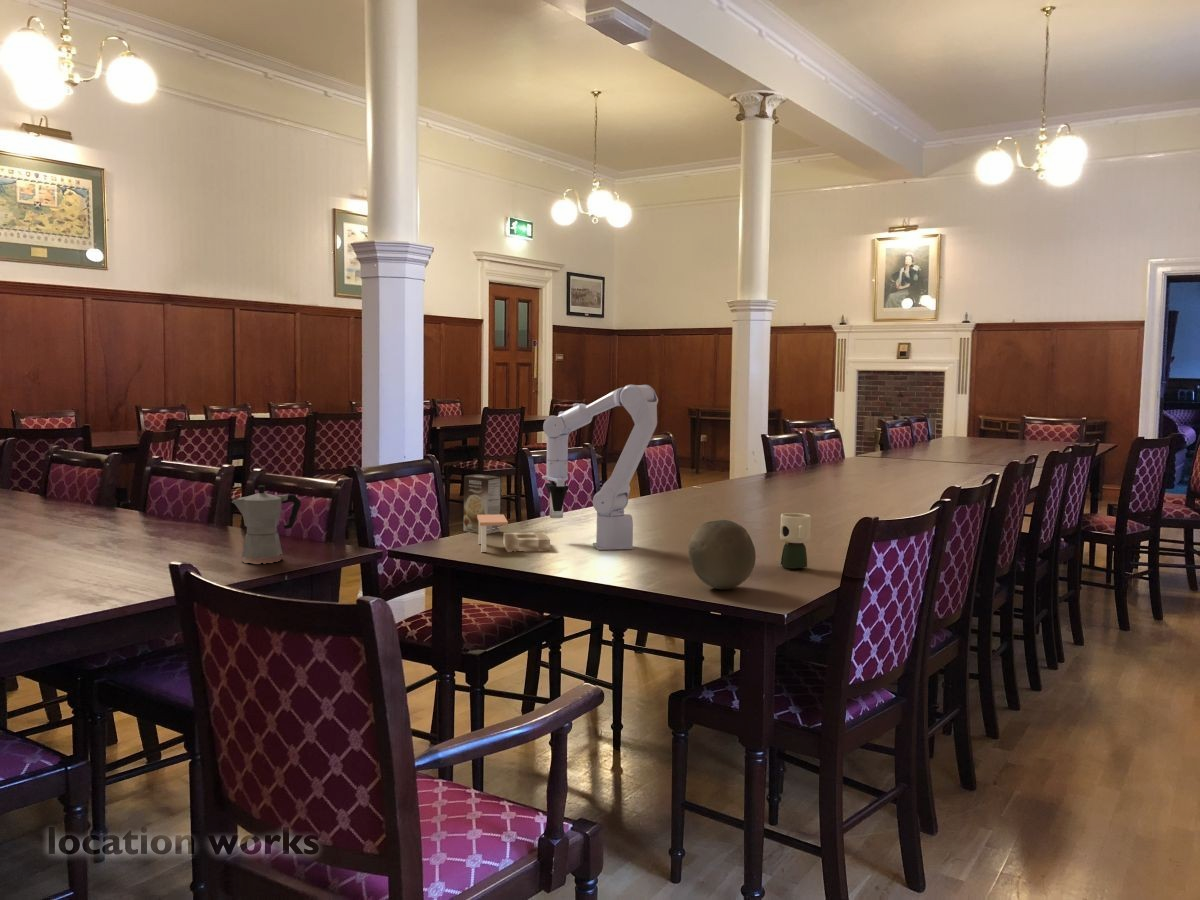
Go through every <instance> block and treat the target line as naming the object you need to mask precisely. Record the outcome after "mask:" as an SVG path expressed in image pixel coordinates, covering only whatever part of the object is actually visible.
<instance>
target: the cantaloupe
mask: <svg viewBox="0 0 1200 900" xmlns="http://www.w3.org/2000/svg"><path fill="white" fill-rule="evenodd" d="M688 557H689V562H690V565H691V568H692V570H693V572H694V573H695V574H696V576H697V577H698V579H700V581H701V582H702V583H703V584H705V585H707V586H709V587H711V588H712V589H715V590H729V589H733V588H737V587H738V586H739V585H741V584H742V583H744V582H745V581H746V580H747V579H748V578H749V577H750V575H751V574H752V572H753V570H754V567H755V565H756V558H757V556H756V547H755V545H754V542H753V540H752V538H751V535H750V534H749V533H748V531H747V529H746V528H744V527H743V525H740V524H738V523H737V522H734V521H731V520H727V519H721V520H714V521H713V520H712V521H708V522H704V523H703V524H701V525H699V526H698V527H697V528H696V530H695V531H694V533H693V534H692V535H691V537H690V539H689V542H688Z"/></svg>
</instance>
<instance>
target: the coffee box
mask: <svg viewBox="0 0 1200 900" xmlns="http://www.w3.org/2000/svg"><path fill="white" fill-rule="evenodd" d="M463 481H464V482H463V527H462V528H463V531H464V532H470V533H475V532H476V534H479V521H478V519H477V515H501V489H502V488H501V485H502V476H496V475H487V474H478V473H477V474H470V475H464V477H463ZM497 527H500V528H501V525H492V526H486V535H489V534H496V533H498V532H499V533H500V530H501V529H500V528H497ZM492 528H495V529H492ZM487 529H490V530H487Z"/></svg>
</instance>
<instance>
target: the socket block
mask: <svg viewBox="0 0 1200 900" xmlns="http://www.w3.org/2000/svg"><path fill="white" fill-rule="evenodd" d="M503 546H504V548H505V550H506V552H508V553H511V552H512V551H514V552H512V553H516V551H524V552H550V551H551V538H550V537H549V536H548V535H547V534H546V532H544V531H543V532H540V531H539V532H538V531H537V532H533V531H531V532H503Z"/></svg>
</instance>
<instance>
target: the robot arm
mask: <svg viewBox="0 0 1200 900" xmlns="http://www.w3.org/2000/svg"><path fill="white" fill-rule="evenodd" d="M658 403H659V398H658V396H657V393H656V391H655V389H654V388H653V387H652V386H650V385H649V384H639V385H638V384H637V385H636V384H627V385H625V386H624V387H620V388H616V389H615V390H613V391H611V392H609V393H608V394H606V395H604V396H601V397H600V398H597V400H594V401H593V402H591V403H589V404H586V403H578V402H576V403H573V404H572V407H571V408H569V409H567V410H565V411H563V410H561V411H559V412H558V415H548V417H547V418H546V419H544V422H543V426H542V429H543V432H544V434H545V435H546V475H542V476H541V479H543V480H548V481H550V482H545V483H544V485H545V487H546V490H547V493H548V497H549V499H550V493H551V497H552V505H553V510H554V511H562V507H563V508H564V502H565V497H566V495H567V493H568V491H569V488H570V486H569V485H567V483H566V481H568V480H569V476H568V473H569V471H568V469H569V465H568V462H569V461H568V459H569V456H568V454H569V435H571V433H573V431H576V430H578V429H580V428H583V427H585V426H587V425H588V424H590V423H591V422H592V421H593V418H594V416H596V415H599V414H601V413H604V412H606V411H609V410H611V409H613V408H615V407H623V408H624V409H625V410H626V412H627V413H628V414H629V415H630V417H631V418H632V421H633V423H634V426H633V428H632V430H631V432H630V434H629V436H628V438H627V441H626V442H625V445H624V446H623V449H622V452H621V453H620V456H619V458H618V460H617V462H616V463H615V466H614V469H613V471H612V473H611V475H610V477H609V478H608V479H607V480H606V481H605V482H604V483H603V484H602V487H601V488H600V490H598V491H597V492H596V493H595V494H594V496H593V498H592V506H593V508H594V510H595V511H596V537H595V539H596V542H592V545H593V546H594V547H595V548H596V549H597V550H599V551H600V550H603V551H605V550H607V551H608V550H609V551H610V550H633V549H634V546H633V544H634V543H633V540H634V539H633V538H634V537H633V536H634V520H633V516H632V514H630V513H629V514H628V513H627V514H626V513H625V509H626V508H627V506H628V503H629V494H630V492H631V486H630V483H631V481H632V479H633V477H634V475H635V474H636V470H637V468H638V467H639V464H640V462H641V460H642V459H643V455H644V453H646V449H647V447H648V445H649V443H650V441H651V439H652V437H653V435H654V433H655V431H656V428H657V427H658V426H657V425H658V409H657V405H658Z"/></svg>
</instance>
